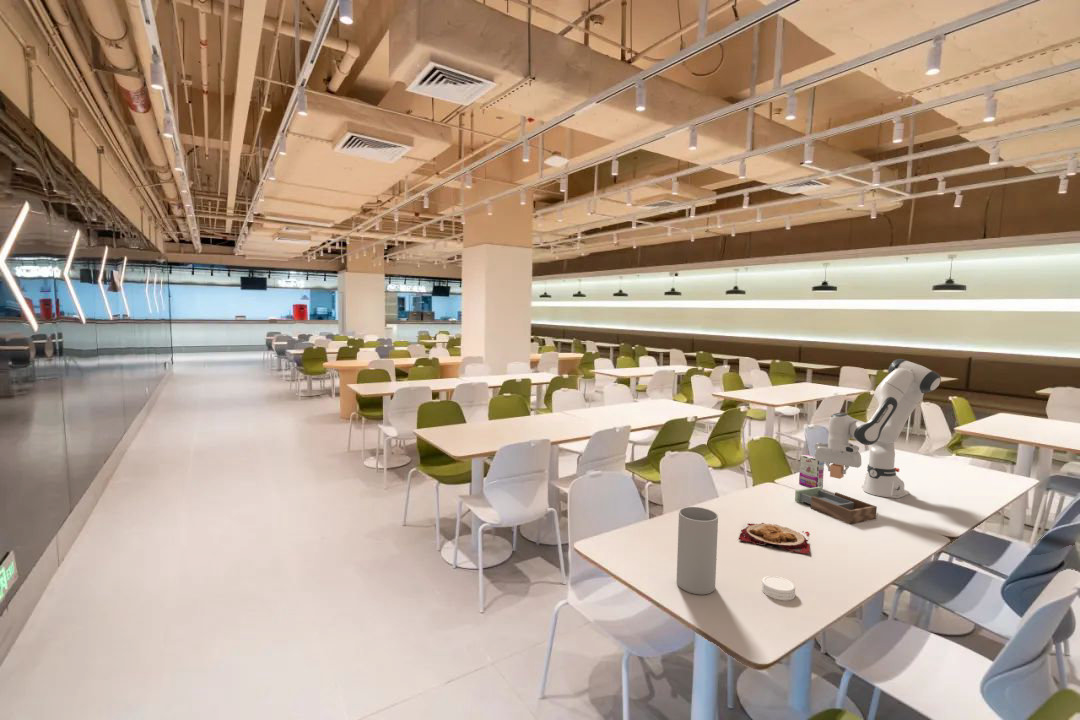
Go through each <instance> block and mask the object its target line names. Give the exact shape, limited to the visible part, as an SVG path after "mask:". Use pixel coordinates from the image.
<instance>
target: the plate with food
mask: <svg viewBox="0 0 1080 720" xmlns="http://www.w3.org/2000/svg"><path fill="white" fill-rule="evenodd" d="M740 531H741V532H740V533H739V537H738V540H739V541H743V542H745V543H752V544H753V545H760V546H764V547H765V546H766V547H770V548H774V547H773V546H771V545H769V544H772V545H776V546H780V548H778V550H782V551H786V552H789V553H801V554H805V555H806V554H810V552H811V549H810V543H808V542H809V539H806V538H809V537H810V536H809V535H810V532H809V531H804V532H803V534H804V535H806V536H807V537H805V536H804V535H803V534H802V533H800V532H798V531H796V530H793V529H791V528H789V527H787V526H785V527H784V526H781V525H780V524H779V525H778V524H771V523H764V522H761V523H749V522H748V523H747V526H746V527H745V528H742V529H740Z"/></svg>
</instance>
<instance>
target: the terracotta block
mask: <svg viewBox="0 0 1080 720" xmlns="http://www.w3.org/2000/svg"><path fill="white" fill-rule="evenodd" d="M829 465H830V471H829V477H830V478H835V479H838V480H840V479H842V478H844V476H845V474H842V470H845V465H839V464H834V463H830V464H829Z"/></svg>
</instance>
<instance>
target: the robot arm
mask: <svg viewBox="0 0 1080 720" xmlns="http://www.w3.org/2000/svg"><path fill="white" fill-rule="evenodd" d="M887 372H888V374H887V375H886V376H885V377H884V378H883V379H882V381H881V382H880V383H879V384H878V385H877V387H875V390H874V391H873V392H874V398H875V401H877V403H878V407H877V409H876V411H875V412H874V413H873V415H872V416H871V418H869V420H868V421H866V422H865V421H863V420H860V419H856V418H854V417H852V416H850V415H848V414H847V413H845V412H838V413H837V412H835V413H833V414H831V415H830V417H829V421H828V428H827V429H828V430H827V431H828V436H827V437H828V438H827V443H822V442H817V443H815V445H814V450H815V453H814V457H815V459H816V460H817V461H822V462H824V463H825V466H827V471H828V472H830V465H831V464H833V463H834V464H839V465H844V470H842V474H844V475H847V471H848V469H849V468H851V467H852V468H857V469H858V468H860V467H861V466H862V455H861V453H860V452H859V450H860V447H859V446H857V445H855V444H853V443H851V442H850V441H849V439H853V440H855V441H857V442H859V443H860V444H861V445H864V446H869V453H868V454H869V455H868V456H869V457H868V464H867V467H866V468H867V470H866V471H867V472H866V473H865V476H864V480H863V484H862V485H861V488H862V489H863V491H864V492H865V493H868V494H869V495H872V496H873V495H874V496H878V497H884V498H892V499H901V498H903V497H905V496H908V495H909V494H911V493H910V491H909V490H907V489H905V482H904V481H903V480H902V479H901V478H900V477H899V476H898V475H897V473H899V472H900V468H898V467H895V461H896V460H895V457H896V451H895V442H897V440H898V439H899V437H900V435H901V433H902V431H903V429H904V427H905V425H906V423H907V421H908V419H909V417H910V416H911V415H912V413H913V412H914V410H915V409H916V408H917V406H918V405H919V403H920V402H921V400H922V398H923V396H924V394H926V393H930V392H933V391H934V390H936V389H937V388H938V387H939V385H940V384H941V382H942V379H941V378H942V377H941V375H940V374H939V373H938V372H936V371H934V370H932V369H929V368H927V367H925V366H923V365H921V364H918V363H916V362H911V361H909V360H907V359H904V358H897V359H894V360H893V361H892V362H891V363H890V365H889V366H888V371H887Z"/></svg>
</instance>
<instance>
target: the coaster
mask: <svg viewBox="0 0 1080 720" xmlns="http://www.w3.org/2000/svg"><path fill="white" fill-rule="evenodd" d="M761 591H762V592H763V593H764V594H765V596H768V597H769V598H771V599H773V600H777V601H791V600H793V599H795V597H796V586H795V584H794V583H793V582H792V581H790V580H789V579H786V578H784V577H781V576H776V575H767V576H765V577H763V578H762V579H761Z"/></svg>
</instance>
